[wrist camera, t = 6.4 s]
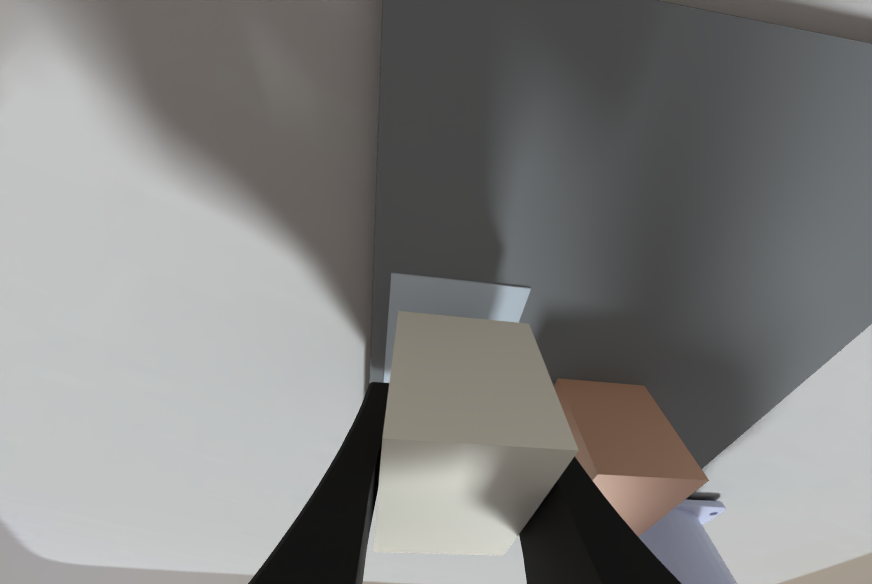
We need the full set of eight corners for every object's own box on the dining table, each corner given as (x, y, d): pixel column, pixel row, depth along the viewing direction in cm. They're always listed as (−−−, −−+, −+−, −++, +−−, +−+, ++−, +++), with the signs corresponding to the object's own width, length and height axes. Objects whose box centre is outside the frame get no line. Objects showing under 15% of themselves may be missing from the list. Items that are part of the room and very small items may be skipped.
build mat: (679, 471, 20) (687, 484, 19) (368, 453, 18) (366, 467, 18) (1096, 95, 9) (1147, 97, 8) (387, -47, 7) (383, -57, 6)
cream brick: (485, 434, 13) (503, 555, 10) (387, 428, 13) (373, 552, 10) (528, 323, 10) (578, 450, 7) (398, 310, 10) (382, 438, 6)
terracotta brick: (589, 457, 18) (626, 546, 14) (518, 453, 17) (539, 543, 14) (644, 385, 14) (708, 480, 11) (557, 378, 14) (597, 474, 11)
